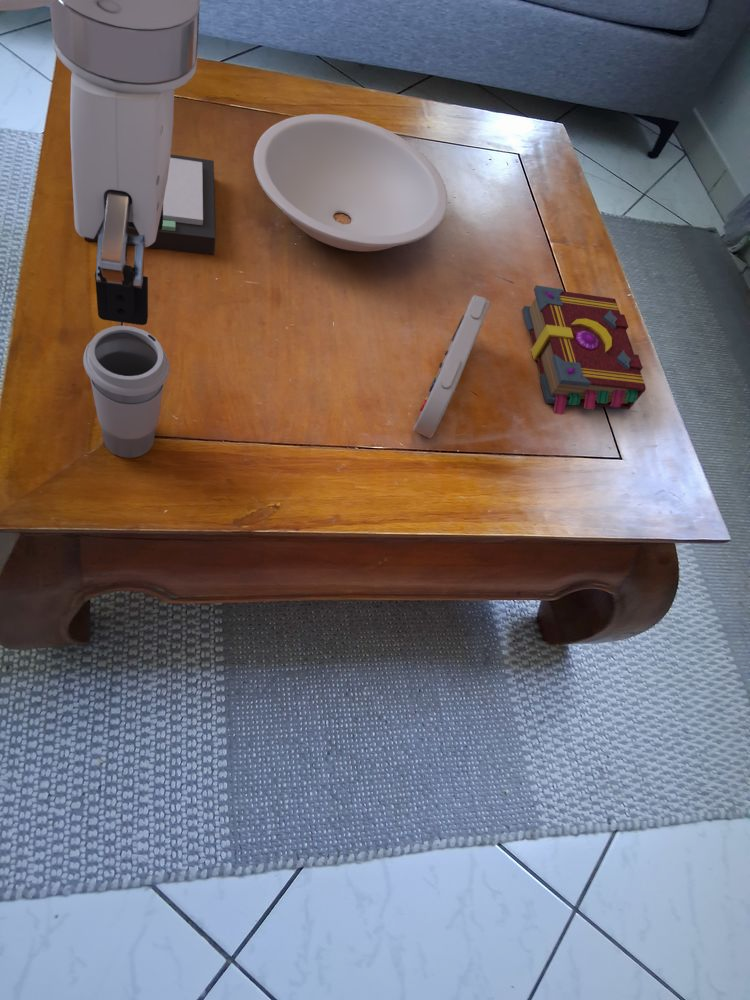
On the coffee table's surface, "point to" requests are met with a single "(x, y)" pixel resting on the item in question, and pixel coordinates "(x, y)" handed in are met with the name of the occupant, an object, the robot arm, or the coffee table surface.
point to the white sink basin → (350, 181)
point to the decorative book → (582, 350)
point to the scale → (186, 208)
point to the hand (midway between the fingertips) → (132, 270)
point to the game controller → (451, 367)
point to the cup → (127, 387)
